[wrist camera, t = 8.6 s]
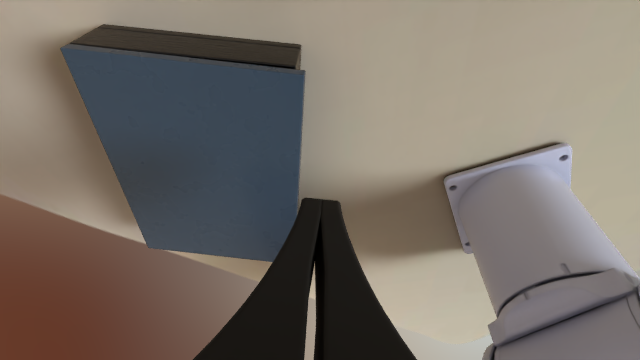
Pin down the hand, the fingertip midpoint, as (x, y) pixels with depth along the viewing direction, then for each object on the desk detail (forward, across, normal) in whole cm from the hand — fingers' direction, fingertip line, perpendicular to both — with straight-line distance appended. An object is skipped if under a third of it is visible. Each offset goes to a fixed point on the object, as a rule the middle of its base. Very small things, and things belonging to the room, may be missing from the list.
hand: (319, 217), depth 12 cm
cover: (+7, +7, +5) cm, 11 cm away
